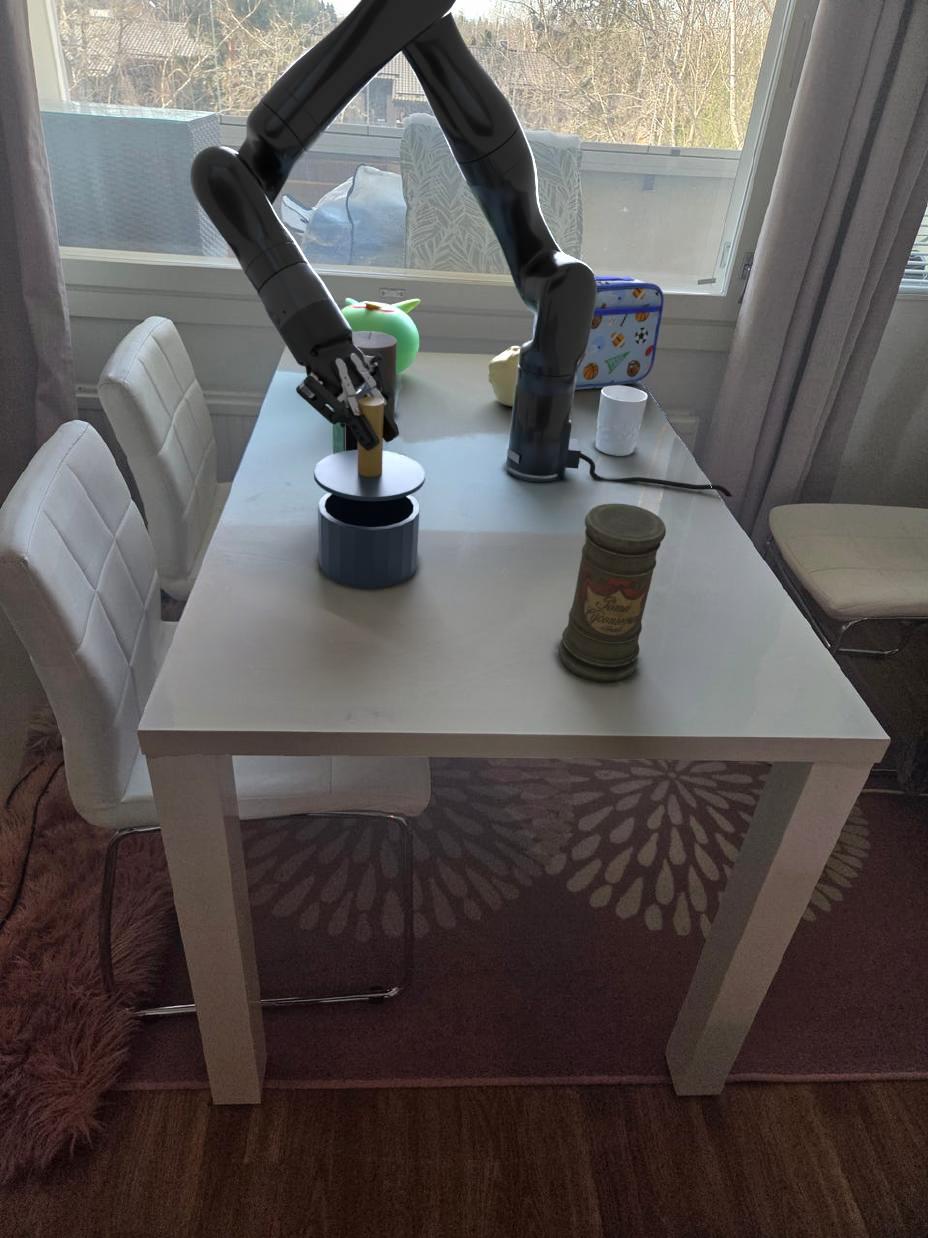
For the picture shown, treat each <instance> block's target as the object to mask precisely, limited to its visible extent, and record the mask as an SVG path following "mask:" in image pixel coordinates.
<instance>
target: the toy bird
mask: <svg viewBox="0 0 928 1238" xmlns="http://www.w3.org/2000/svg"><path fill="white" fill-rule="evenodd" d="M344 304H345V307H344V308H342V309H340V311H341V312H342V314H343V316H344V317H345V319H346V321H347V322H348V324H349V325H350V327H351V329H352V332H359V331H374V332H380V333H385V334H389V335H391V336H393V337H394V338H396V340H397V361H396V375H397V374H400V373H401V372H404V371H405V370H406V369H408V368H409V367H410V366H411V365H412V364H413V362H414V361H415V359H416V357H417V355H418V352H419V348H420V335H419V330H418V328H417V325H416V324H415V323H414V321H413V319H412V318H411V317H410V316H409V315H408V313H410V311H412V310H413V309H415V308H416V307H418V305H420V304H421V299H419V298H412V299H407V300H405V301H400V302H397V303H392V304H389V303H386V302H376V301H367V300H366V301H360V302H358V301H356V300H355V299H352V298H350V297H346V298H345V299H344Z"/></svg>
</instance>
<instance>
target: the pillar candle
mask: <svg viewBox="0 0 928 1238" xmlns="http://www.w3.org/2000/svg"><path fill="white" fill-rule="evenodd" d="M352 341H353V343H354V345H355V346H356V347H357V348H358V349H360V350H361V351H362V353H363V354H364V355H365V356H370V357H374V356H375V355H376V354H377V353H379V354H381V355H382V356H383V357H384V361H385V365H386V368H387V372H388V376H389V380H390V384H391V388H392V392H393V396H392V397H391V398H390V399H389V400H388V401H387V403H386V407H387V409H388V411H389V413H390V414H391V416H392V417H393V419H394V420H395V418H396V408H395V407H396V389H397V386H396V385H397V381H396V380H397V374H396V361H397V340H396V338H394V337H393V336H391V335H389V334H385V333H380V332H374V331H359V332H353V334H352ZM381 392H382V388H381Z"/></svg>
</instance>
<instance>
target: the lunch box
mask: <svg viewBox="0 0 928 1238" xmlns="http://www.w3.org/2000/svg"><path fill="white" fill-rule="evenodd" d="M595 278H596V284H597V298H596V305H595V311H594V316H593V320H592V325H591V330H590V335H589V340H588V344H587V348H586V350H585V353H584V355H583V356H582V358H581V360H580V362H579V367H578V373H577V379H576V386H575V391H576V390H577V391H578V390H587V389H588V390H589V389H603V388H604V387H607V386H615V385H618V386H622V385H626V384H632V383H636V382H640V381H642V380H644V379H645V378H646V377H647V376H648V375H649V374H650V372H651V371H652V368H653V367H654V363H655V359H656V351H657V345H658V339H659V333H660V326H661V322H662V318H663V317H662V316H663V311H664V310H663V309H664V303H665V298H664V297H665V296H664V293H663V290H662V288H661V287H660V286H659V285H657V284H655V283H651V282H644V281H642V280H640V279H637V278H633V277H631V276H616V275H607V276H606V275H605V276H596V275H595ZM537 317H538V316H537V315H535V314H534V319H533V329H532V337H531V338H532V339H531V341H532V340H533V339H534V334H535V329H536V323H537Z"/></svg>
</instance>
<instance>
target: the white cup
mask: <svg viewBox="0 0 928 1238" xmlns="http://www.w3.org/2000/svg"><path fill="white" fill-rule="evenodd" d="M648 397H649V396H648V394H647V393H646V392H645V391H643V390H641V389H638V388H636V387H633V386H628V385H614V386H607V387H603V388H601V390H600V397H599V405H598V406H599V407H598V412H597V413H598V415H597V422H596V439H595V448H596V449H597V450H598V451H600V452H601V453H604V454H607V455H611V456H617V457H622V456H623V457H624V456H629V455H631V454H632V453H634V450H635V445H636V441H637V438H638V436H639V433H640V431H641V430H640V429H641V426H642V422H643V417H644V414H645V410H646V405H647V401H648Z"/></svg>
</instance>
